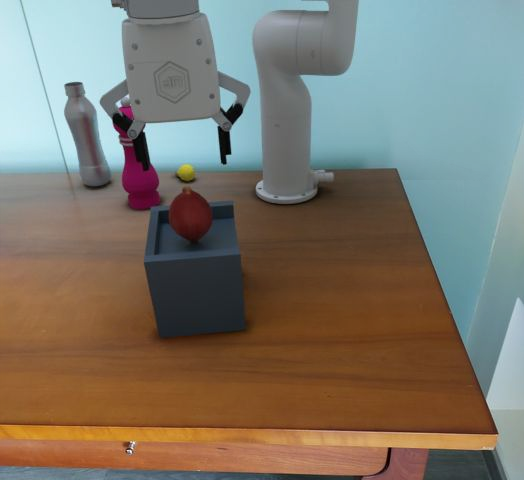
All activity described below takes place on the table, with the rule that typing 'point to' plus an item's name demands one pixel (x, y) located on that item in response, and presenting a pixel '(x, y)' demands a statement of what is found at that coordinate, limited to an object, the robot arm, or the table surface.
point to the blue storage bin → (195, 275)
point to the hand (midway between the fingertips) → (185, 163)
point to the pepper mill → (136, 170)
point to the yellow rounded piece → (185, 172)
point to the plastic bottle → (86, 136)
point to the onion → (190, 215)
